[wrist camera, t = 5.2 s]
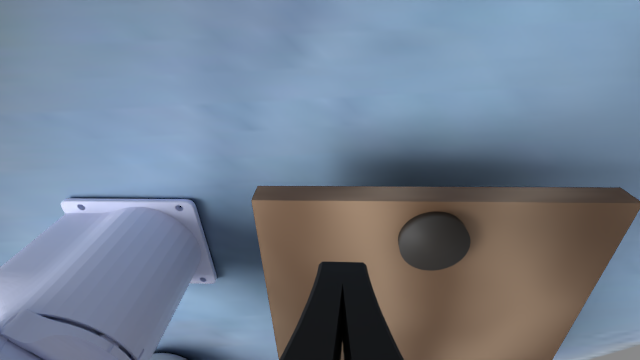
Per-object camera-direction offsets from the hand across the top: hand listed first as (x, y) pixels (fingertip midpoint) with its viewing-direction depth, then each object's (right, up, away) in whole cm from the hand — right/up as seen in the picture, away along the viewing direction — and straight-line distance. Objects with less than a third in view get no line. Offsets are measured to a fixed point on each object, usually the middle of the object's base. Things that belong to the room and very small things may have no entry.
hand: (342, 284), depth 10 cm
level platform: (+5, -6, +10) cm, 12 cm away
